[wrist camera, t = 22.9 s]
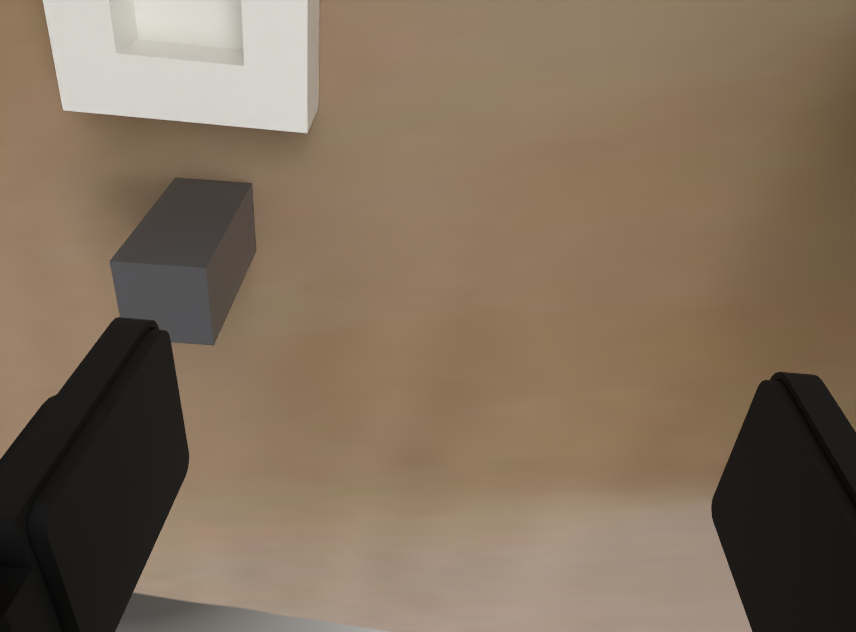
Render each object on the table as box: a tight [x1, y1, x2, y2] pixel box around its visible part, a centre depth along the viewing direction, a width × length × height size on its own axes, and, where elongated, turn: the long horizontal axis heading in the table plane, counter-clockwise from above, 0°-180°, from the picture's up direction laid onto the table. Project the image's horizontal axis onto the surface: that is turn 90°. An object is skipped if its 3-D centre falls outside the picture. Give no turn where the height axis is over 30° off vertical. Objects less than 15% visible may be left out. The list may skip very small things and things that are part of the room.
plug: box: [110, 178, 256, 345], centre depth 39 cm, size 4×4×10 cm
